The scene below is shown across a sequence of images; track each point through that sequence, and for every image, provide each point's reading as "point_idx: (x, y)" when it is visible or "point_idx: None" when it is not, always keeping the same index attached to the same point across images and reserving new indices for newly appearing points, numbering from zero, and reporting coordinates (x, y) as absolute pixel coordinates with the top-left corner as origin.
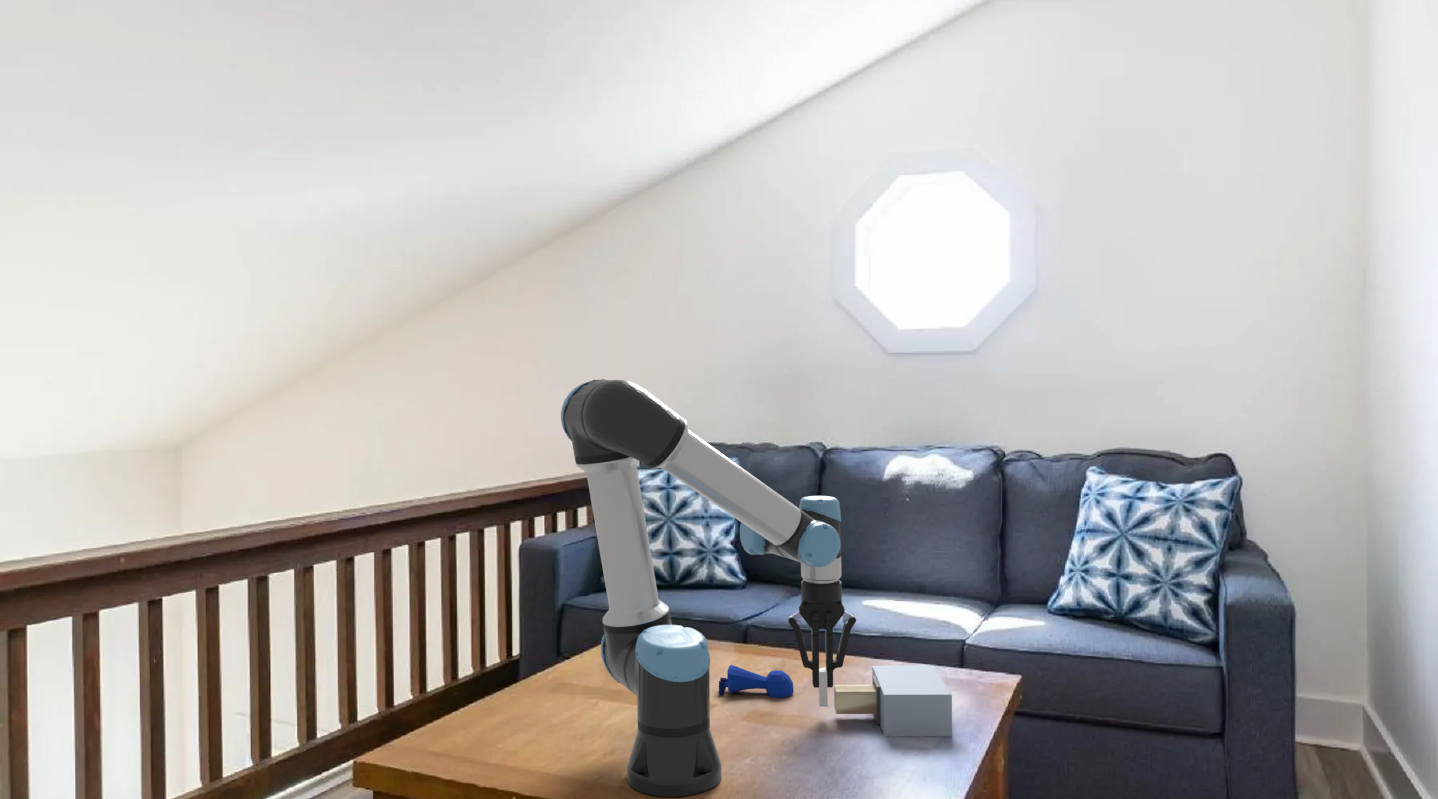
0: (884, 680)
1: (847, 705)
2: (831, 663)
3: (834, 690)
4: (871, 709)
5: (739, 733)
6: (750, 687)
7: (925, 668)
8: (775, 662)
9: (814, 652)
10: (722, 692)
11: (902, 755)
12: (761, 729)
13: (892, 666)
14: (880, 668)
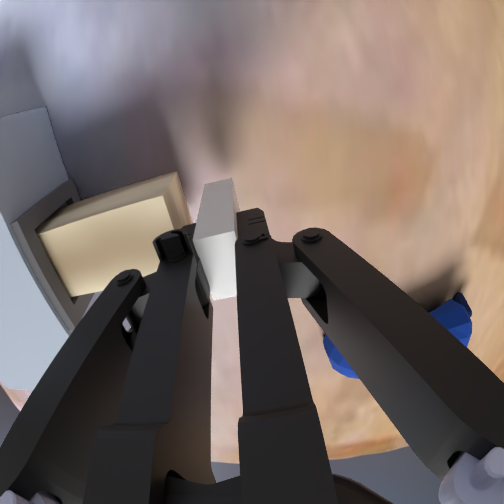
0: (18, 279)
1: (135, 188)
2: (164, 273)
3: None
4: (76, 205)
5: (429, 52)
6: None
7: (6, 374)
8: (347, 433)
9: (271, 293)
10: (458, 297)
11: (8, 14)
12: (386, 79)
13: None
14: None
